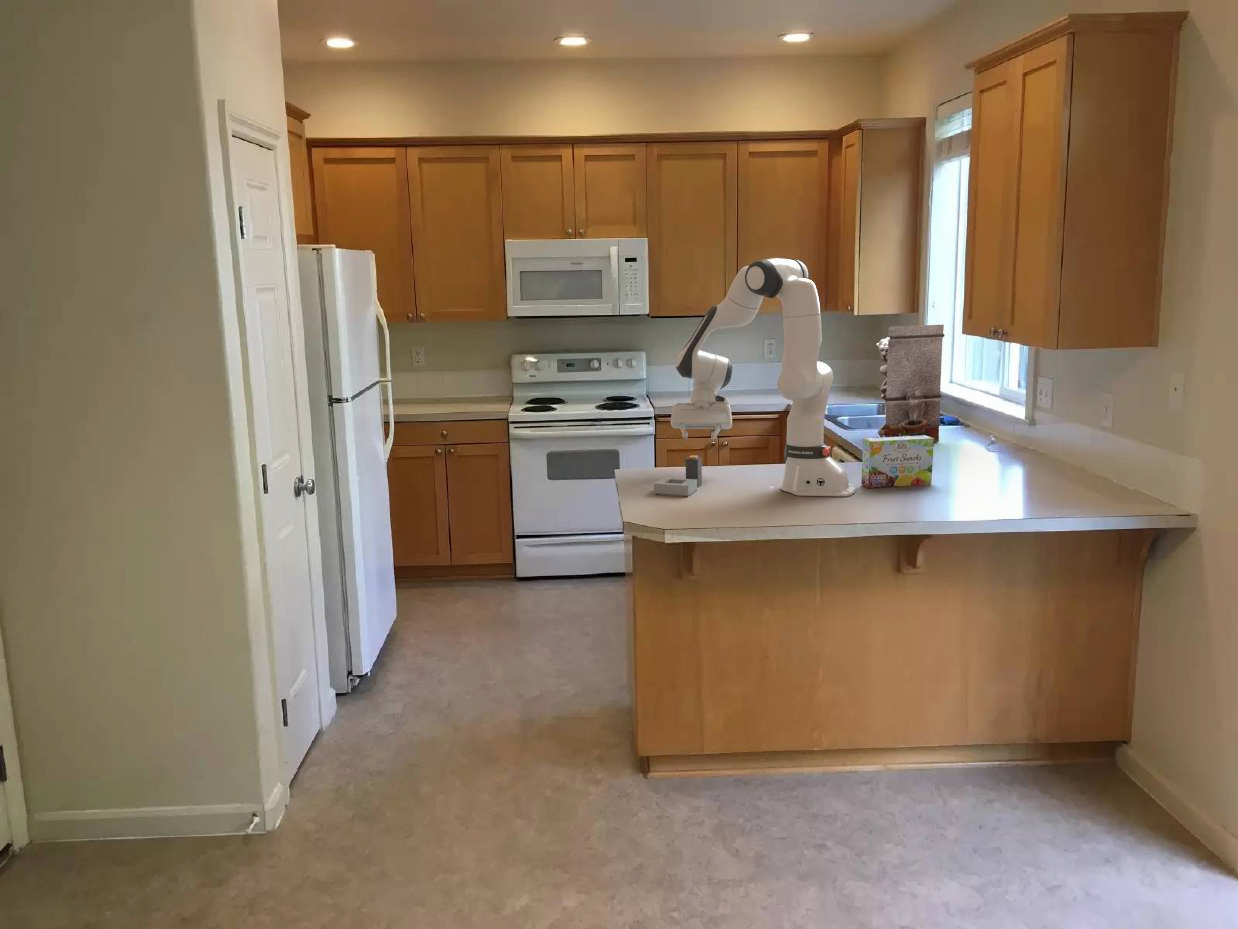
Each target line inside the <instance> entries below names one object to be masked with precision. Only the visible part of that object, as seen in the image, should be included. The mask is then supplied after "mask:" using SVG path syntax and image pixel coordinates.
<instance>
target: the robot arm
mask: <svg viewBox="0 0 1238 929" xmlns="http://www.w3.org/2000/svg"><path fill="white" fill-rule="evenodd" d="M764 297H765V298H769V299H774V298H775V297H777V298H778V299H779V301H780V303H781V306H782V321H783V336H784V337H783V338H784V339H783V340H784V342H783V344H784V345H783V347H784V349H783V356H782V364H781V372H780V374H779V375H778V378H777V382H776V384H777V386H776V387H777V390H778V392H779V394H780V395H781V396H782V397H783V398H784V399H786V400H788V401H791V402H792V403H791V408H790V410H789V414H788V416H787V419H786V443H785V446H784V462H785V467H784V474H783V479H782V483H781V486H780V489H781V490H782V491H784V492H787V493H790V494H793V495H795V496H803V497H805V496H807V497H808V496H810V497H849V496H852V495H853V493H854V494H855V493H856V491H857V489H856V488H857V487H856V485H855V484H852V483H850V482H849V475H848V471H847V470H846V468H845V467H844V466H842V465H841V464H840V463H838V462H837V461H836V460H834V458H832V457H831V446H830V445H827V444H825V443H824V440H825V438H824V434H825V416H826V415H825V414H826V410H827V405H828V401H829V396H830V390H831V387H832V385H833V382H834V379H835V377H834V372H833V369H832V367H830V366H829V365H828V364H827V363H824V362H821V361H819V354H820V353H819V352H820V347H821V346H822V342H823V335H822V334H823V331H822V329H823V328H822V318H821V306H820V300H819V294H818V290H817V287H816V284H815V282H813V281H812V280H811V279H809V271H808V268H807V266H806V265H805V264H804V262H802V261H800V260H798V259H796V258H795V259H794V258H780V257H771V258H766V259H765V258H763V259H759V260H756V261H753V262H752V263H750V264H749V265H745V266H743V267H741V269H740V270H739V271H738V272H737V274H736V276H735V277H734V279H733V281H732V283H731V285H730V286H729V289H728V291H727V293H726V296H725V298H724V299H723V300H722V301H721V302H719V303H718V304H717V305H715V306H711V307H710V308H709V309H708V310H707V311H706V313H705V315H704V316H703V318H702V319H701V320H700V323H699V324H698V325H697V327H696V328H695V330H694V332H693V334H692V335H691V337H690V338H689V340H688V342H686V344H685V345H684V347H683V349H682V350H681V351H680V353H679V354H678V356H677V358H676V363H675V369H676V371H677V372H678V373H679V375H680V377H683V378H687V379H691V380H693V383H692V388H693V390H692V392H691V397H690V402H685V403H682V402H678V403H677V404H673V405H672V408H671V416H670V420H669V421H670V426H671V427H672V428H673V429H680V432H681V433H682V434H681V436H682V439H688V436H689V434H688V431H687V430H686V429H698V430H699V429H700V430H701V429H702V430H703V429H704V430H714V431H711V435H710V437H711V440H716V439H717V436H718V434H720V432H721V430H730V429H731V428H732V427H733V417H732V416H733V415H732V410H731V404H730V400H729V398H728V397H726V396H722V395H719V394H718V391H719V390H723V389H724V388H725V387H727V386H728V385H729V384H730V382H731V379H732V373H733V365H732V361H731V360H730V359H729V358H728V357H725V356H722V355H718V354H716V353H715V354H714V353H711V352H708V351H704V350H701V349H702V347H703V345H704V343H705V341H706V340H707V339H708V338H709V335H710V334H711V333H712V332H714V331H716V330H720V329H727V328H729V329H730V328H731V329H732V328H742V327H745V326H747V325H749V324H750V323H751V322H753V321H754V319H755V318H756V316H757V314H758V312H759V309H760V307H761V305H762V302H763V300H764Z"/></svg>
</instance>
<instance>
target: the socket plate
mask: <svg viewBox="0 0 1238 929" xmlns="http://www.w3.org/2000/svg"><path fill="white" fill-rule="evenodd" d="M697 491H698V488H697V479H686V478H679V477H661V478H660V479H659V480H657V481H655V482H654V483H653V495H654V494H661V495H660V496H667V495H669V497H681V496H687V497H686V498H689V497H690V496H692V495H693V494H695V493H697ZM688 496H689V497H688Z"/></svg>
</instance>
